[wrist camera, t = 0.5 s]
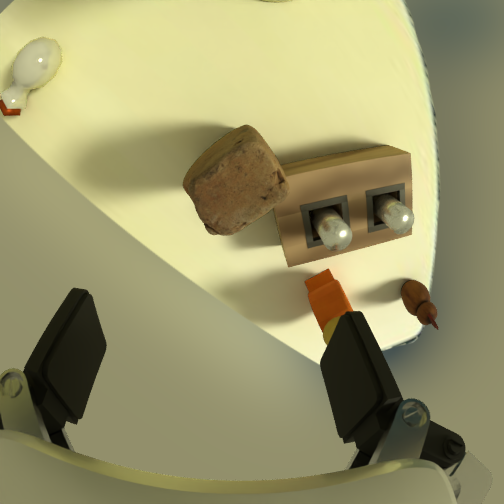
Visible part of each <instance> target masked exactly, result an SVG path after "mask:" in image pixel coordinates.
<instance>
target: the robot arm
mask: <svg viewBox="0 0 504 504" xmlns="http://www.w3.org/2000/svg"><path fill="white" fill-rule="evenodd" d="M263 1H269V2H287V1H292V0H263ZM106 346H107V345H106V340H105V337H104V334H103V331H102V328H101V325H100V322H99V318H98V315H97V311H96V308H95V304H94V301H93V297H92V295H91V294H89V292H88V291H87V290H85V289H79V288H73V289H72V290H71V291H70V292H69V294H68V295H67V297H66V298H65V300H64V302H63V303H62V304H61V306H60V307H59V309H58V311H57V312H56V314H55V315H54V317H53V318H52V320H51V322H50V323H49V325H48V326H47V328H46V330H45V331H44V333H43V335H42V336H41V338H40V340H39V342H38V344H37V345H36V347H35V349H34V351H33V352H32V354H31V356H30V358H29V360H28V361H27V363H26V365H25V367H24V368H25V369H24V371H23V372H22V371H21V370H19V369H15V368H12V369H8V370H6V371H4V372H3V373H2V374H1V375H0V504H482V502H483V500H484V499H485V497H486V495H487V493H488V491H489V490H490V488H491V485H492V479H493V478H492V474H491V472H490V471H489V470H488V469H487V468H486V467H485V466H484V465H483V464H482V463H481V462H480V461H479V460H478V459H477V458H476V457H475V456H474V455H473V454H472V453H470V452H469V451H467V452H465V443H464V441H463V439H462V438H461V436H459V435H458V434H456V433H454V432H452V431H450V430H448V429H446V428H444V427H442V426H440V425H438V424H436V423H435V422H433V421H431V420H430V412H429V410H428V408H427V406H426V405H425V404H424V403H423V402H421V401H420V400H417V399H414V398H411V399H410V398H409V399H406V400H403V398H402V395H401V393H400V391H399V388H398V386H397V384H396V382H395V379H394V377H393V375H392V373H391V371H390V368H389V366H388V364H387V362H386V360H385V358H384V356H383V353H382V351H381V349H380V347H379V345H378V343H377V341H376V339H375V337H374V335H373V333H372V331H371V329H370V327H369V325H368V323H367V321H366V319H365V317H364V315H363V313H362V312H360V311H347V312H345V314H344V315H341V316H340V318H339V321H338V323H337V325H336V328H335V330H334V332H333V334H332V337H331V339H330V341H329V343H328V345H327V347H326V350H325V352H324V354H323V356H322V358H321V361H320V367H321V371H322V375H323V378H324V382H325V386H326V389H327V393H328V397H329V401H330V404H331V408H332V412H333V416H334V420H335V424H336V428H337V432H338V435H339V437H340V438H343V442H344V443H350V442H354V441H355V443H356V447H357V449H356V451H355V452H354V454H353V456H352V458H351V460H350V461H349V463H348V465H347V467H346V469H345V470H344V471H338V472H333V473H327V474H320V475H314V476H307V477H298V478H288V479H276V480H256V481H255V480H253V481H230V480H208V479H195V478H184V477H177V476H169V475H163V474H157V473H151V472H146V471H141V470H136V469H132V468H127V467H123V466H120V465H116V464H112V463H108V462H105V461H101V460H98V459H95V458H92V457H89V456H85V455H82V454H79V453H76V452H75V451H74V449H73V446H72V444H71V442H70V440H69V438H68V435H67V433H66V431H65V428H64V426H65V423H66V421H68V422H70V423H73V424H77V422H78V419H81V418H82V417H83V414H84V411H85V408H86V404H87V401H88V398H89V395H90V392H91V390H92V387H93V384H94V381H95V378H96V375H97V373H98V370H99V367H100V365H101V362H102V359H103V357H104V354H105V351H106Z"/></svg>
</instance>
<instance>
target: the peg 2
mask: <svg viewBox="0 0 504 504" xmlns="http://www.w3.org/2000/svg"><path fill="white" fill-rule="evenodd" d="M372 200H373V213H374V214H376V215H377V216H378V217H379V218H380V219H381V220H382V221H383V222H384V223H385V224H386V225H387V226H388V227H389V228H390V229H391V230H392V231H394V232H395V233H396V234H404V233H406V232H407V231H409V230H410V228H411V227H412V225H413V222H414V214H413V212H412V211H411V210H410V209H409V208H407V207H406V206H405V205H403V204H402V203H401V202H399V201H398V200H397V199H395V198H394V197H392V196H391V195H390V194H388V193H384V194H380V195H375V196H373V197H372Z"/></svg>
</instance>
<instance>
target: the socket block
mask: <svg viewBox="0 0 504 504" xmlns="http://www.w3.org/2000/svg"><path fill="white" fill-rule="evenodd" d="M281 167H282V169H283V171H284V173H285V176H286V179H287V181H288V183H289V186H290V193H289V195H288V196H287V197H286V199H285V200H284V201H283V202H281V203H280V204H279V205H277V206H275V207H274V208H273V211H274V215H275V219H276V223H277V227H278V232H279V236H280V240H281V244H282V248H283V251H284V255H285V258H286V261H287V265H288V267H292V266H296V265H300V264H304V263H308V262H312V261H316V260H319V259H323V258H327V257H331V256H335V255H339V254H343V253H346V252H350V251H354V250H358V249H361V248H365V247H369V246H373V245H376V244H380V243H384V242H387V241H391V240H394V239H398V238H402V237H405V236H409V235H412V227H411V228H410V230H409V231H407V232H406V233H404V234H396V233H395V232H394V231H392V230H391V229H390V228H389V227H388V226H387V225H386V224H385V223H384V222H383V221H382V220H381V219H380V218H379V217H378V216H377V215H376V214H374V213H373V200H372V196H375V195H380V194H384V193H388V194H390V195H391V196H392V197H394V198H395V199H397V200H398V201H399V202H401V203H402V204H403V205H405V206H406V207H407V208H409V209H410V210H411V211H412V169H411V154H410V153H408V152H406V151H403V150H401V149H398V148H395V147H392V146H390V145H385V146H378V147H372V148H365V149H359V150H353V151H347V152H342V153H336V154H331V155H326V156H321V157H316V158H311V159H306V160H301V161H297V162H292V163H288V164H283V165H281ZM326 206H331V207H332V208H333V209H334V210H335V211H336V212H337V213H338V214H339V216H340V217H341V218H342V219H343V220H344V222H345V223H346V224H347V225H348V227H349V228H350V229H351V231H352V240H351V242H350V244H349V245H348V246H347V247H346V248H345V249H343V250H341V251H331V250H329V249H327V248H326V246H325V245H324V243H323V241H322V239H321V238H320V236H319V234H318V232H317V231H316V229H315V227H314V226H313V224H312V222H311V220H310V217H309V212H308V211H309V210H313V209H318V208H322V207H326Z"/></svg>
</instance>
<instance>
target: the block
mask: <svg viewBox="0 0 504 504" xmlns="http://www.w3.org/2000/svg"><path fill="white" fill-rule="evenodd" d="M183 188H184V189H185V191H186V193H187V194H188V195H189V196H190V198H191V199H192V201H193V203H194V205H195V209H196V212H197V213H198V216H199V218H200V219H201V220H202V222H203V223H204V225H205V228H206V230H207V231H208V232H209V233H210V234H212V235H218V234H219V235H223V236H224V235H232V234H234V233H236V232H239V231H240V230H242V229H243V228H245V227H246V226H248V225H249V224H251V223H252V222H255V221H256V220H257V219H258V218H260V217H262V216H264V215H265V214H267V213H268V212H269V211H270V210H271V209H272V208H274V207H275V206H277V205H279V204H280V203H281V202H283V201H284V200H285V199H286V197H287V196H288V195H289V193H290V186H289V183H288V181H287V179H286V176H285V173H284V171H283V169H282V167H281V165H280V164H279V162H278V160H277V158H276V156H275V155H274V153H273V152H272V150H271V149H270V147H269V146H268V144H267V143H266V142H265V140H264V139H263V137H262V136H261V135H260V134H259V133H258V131H257V130H256V129H255V128H253V127H251V126H249V125H243V126H241V127H239V128H236V129H234V130H233V131H231V132H229V133H228V134H227V135H225V136H224V137H223V138H221V139H220V140H218V141H217V142H216V143H214V144H213V145H212V146H211V147H210V148H209V149H208V150H206V151H205V152H204V153H203V154H202V155H201V156H200V157H199V158H198V159H197V160H196V162H195V163H194V164H193V165H192V166H191V168H190V169H189V170H188V172H187V174H186V176H185V178H184V181H183Z"/></svg>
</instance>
